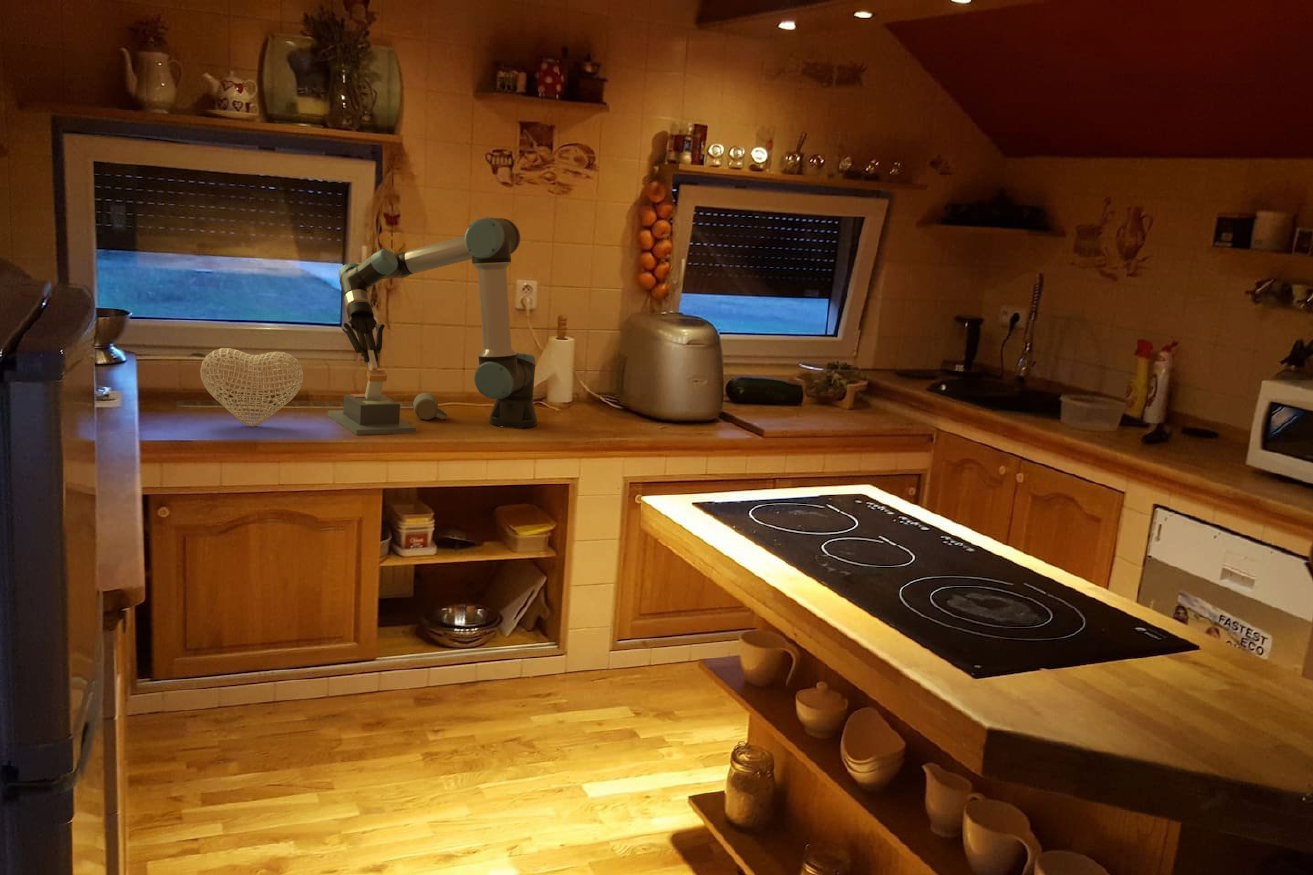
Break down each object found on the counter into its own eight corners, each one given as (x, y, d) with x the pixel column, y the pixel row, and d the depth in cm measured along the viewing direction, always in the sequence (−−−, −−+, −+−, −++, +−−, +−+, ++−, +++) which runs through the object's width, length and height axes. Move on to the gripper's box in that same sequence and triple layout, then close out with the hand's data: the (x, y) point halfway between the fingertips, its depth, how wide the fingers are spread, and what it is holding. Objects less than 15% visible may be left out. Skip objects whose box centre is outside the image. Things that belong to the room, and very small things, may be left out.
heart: (193, 429, 306) (193, 350, 301) (209, 418, 321) (209, 343, 316) (296, 435, 309) (297, 357, 305) (307, 424, 324) (308, 350, 320)
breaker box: (327, 415, 339) (328, 390, 337) (384, 413, 349) (384, 389, 347) (356, 435, 316) (357, 408, 314) (415, 432, 326) (416, 406, 324)
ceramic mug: (413, 420, 342) (415, 396, 340) (412, 415, 350) (414, 391, 348) (448, 422, 345) (449, 398, 343) (446, 417, 353) (447, 393, 351)
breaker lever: (362, 394, 330) (367, 370, 325) (379, 394, 333) (384, 370, 328) (365, 400, 328) (370, 376, 323) (382, 400, 331) (387, 375, 326)
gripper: (376, 316, 343) (391, 377, 333) (334, 314, 336) (349, 377, 326) (382, 301, 338) (398, 363, 327) (340, 299, 331) (355, 362, 320)
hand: (373, 370), depth 327 cm, fingers closed
